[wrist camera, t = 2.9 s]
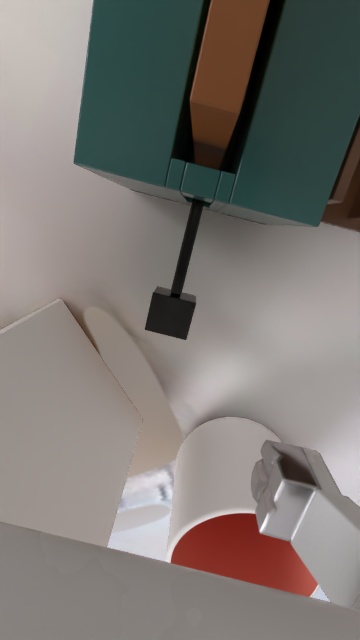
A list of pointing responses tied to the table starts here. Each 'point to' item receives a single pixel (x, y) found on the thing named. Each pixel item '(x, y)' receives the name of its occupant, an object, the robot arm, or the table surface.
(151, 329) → the carriage
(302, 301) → the table surface
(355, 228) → the toast rack
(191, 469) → the cup
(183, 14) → the toaster
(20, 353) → the gable box
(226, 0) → the toast
